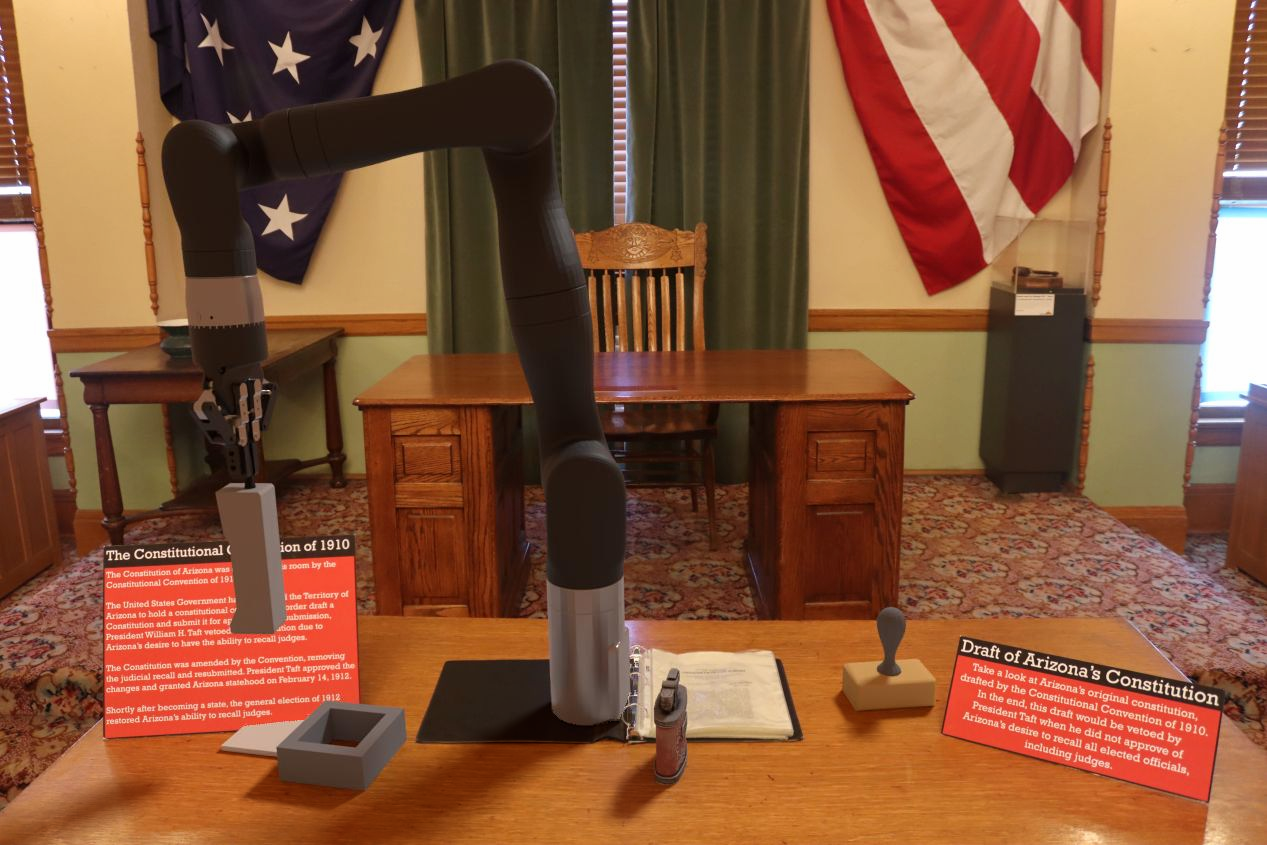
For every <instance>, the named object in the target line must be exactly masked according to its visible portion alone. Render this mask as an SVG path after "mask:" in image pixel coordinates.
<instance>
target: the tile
mask: <svg viewBox="0 0 1267 845" xmlns="http://www.w3.org/2000/svg"><path fill="white" fill-rule="evenodd" d="M303 721H304V720H297V721H296V720H295V721H290V722H289V721H285V722H284V721H283V722H276V723H275V722H274V723H267V724H266V723H265V724H260V725H259V724H258V725H257V724H256V725H249V726H248V725H247V726H244V725H243V726H242V727H241V728H240V729H239V730H237V731H236V732H235V733H234V734H233V735H232V736H230V737H229V738H227V740H226V741H225V742H224V743H222V744H221V745H220V748H221V749H220V750H221V751H223V752H231V753H232V752H233V753H241V754H248V755H249V754H250V755H257V756H266V757H276V758H277V750H276V747H277V746H278V745H279V744H280V743H281V742H282V741H283V740H284V739H285V738H286V737H287V736H289V735H290V734H291V733H292V732H293V731H294V730H295V729H296V728H297V727H298V726H299V725H300V724H301V723H302V722H303Z"/></svg>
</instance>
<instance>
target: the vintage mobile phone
mask: <svg viewBox="0 0 1267 845" xmlns="http://www.w3.org/2000/svg"><path fill="white" fill-rule="evenodd" d="M245 427H246V435H247V443H246V445H248V450H249V441H248V431H247V423H246V425H245ZM249 459H250V468H251V476H250V477H249V478H247V479H244V480H245V481H244V482H242V483H239V482H238V483H237V482H235V483H234V482H233V483H232V482H229V483H228V484H227V485H225V486H224V487H222V488H220V489H218V490H217V491H215V499H216V503H217V508H218V512H219V518H220V519H219V520H220V524H221V527H222V528H221V529H222V532H223V533H222V534H223V536H224V538H225V539H226V541H227V542H228V544H229V550H230V551H229V552H230V563H231V569H232V570H231V571H232V580H233V589H234V597H235V598H234V599H235V606H236V607H235V608H236V610H235V612H234V614H233V616H232V619H231V621H230V622H229V628H230V629H229V630H230V633H232V634H233V635H274V634H275V633H276V632H277V630H279V628H281V626H282V625H284V623H285V622H286V621H287V619H288V615H287V614H288V613H287V605H286V604H287V602H286V594H285V586H284V585H285V584H284V574H283V572H284V571H283V563H282V552H281V542H280V530H279V522H278V520H279V519H278V511H277V510H278V508H277V500H276V489H275V485H274V484H273V483H270V482H269V483H268V482H266V483H265V482H263V483H261V482H259V483H258V482H257V483H256V482H255V480H254V475H253V469H252V460H251V456H250V451H249Z"/></svg>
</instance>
